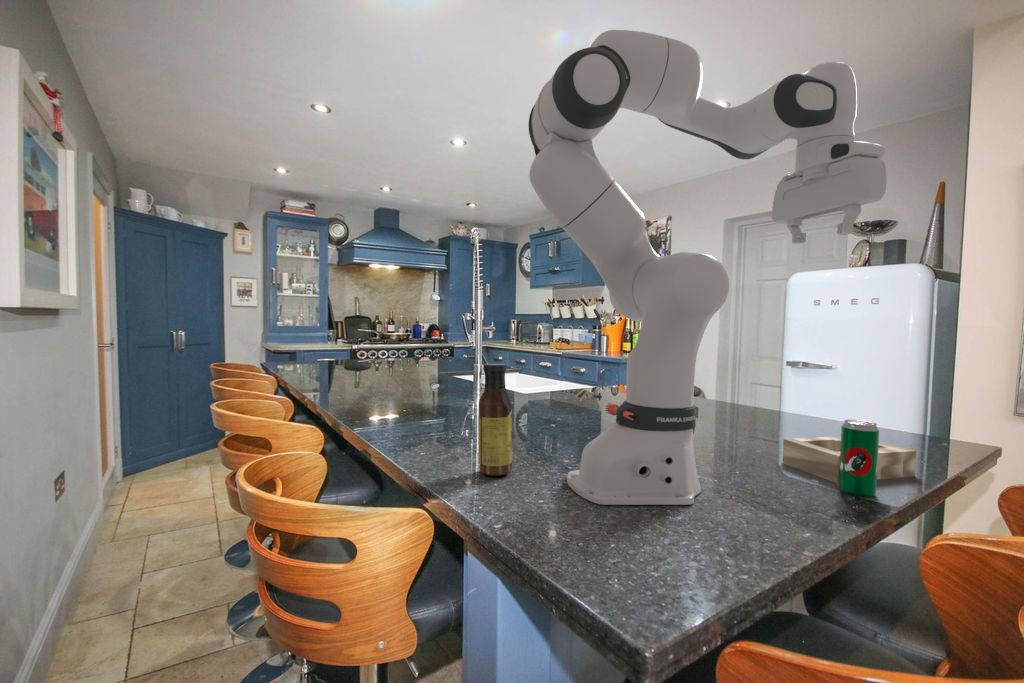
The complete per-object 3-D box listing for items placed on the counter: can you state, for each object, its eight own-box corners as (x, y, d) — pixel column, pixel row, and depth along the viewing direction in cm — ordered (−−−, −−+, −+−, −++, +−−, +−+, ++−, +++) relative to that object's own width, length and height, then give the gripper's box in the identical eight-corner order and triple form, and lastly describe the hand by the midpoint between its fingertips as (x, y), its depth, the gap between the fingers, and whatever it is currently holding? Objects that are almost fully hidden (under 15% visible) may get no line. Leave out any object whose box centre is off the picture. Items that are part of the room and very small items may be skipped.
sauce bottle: (518, 473, 85) (520, 365, 84) (489, 479, 81) (491, 366, 81) (499, 464, 90) (501, 362, 90) (471, 469, 87) (472, 363, 86)
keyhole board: (836, 483, 82) (838, 455, 82) (782, 463, 94) (783, 439, 94) (914, 477, 87) (916, 450, 86) (853, 458, 98) (854, 435, 98)
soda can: (884, 499, 75) (887, 425, 75) (852, 498, 75) (855, 425, 75) (861, 488, 80) (864, 419, 80) (831, 487, 80) (834, 418, 80)
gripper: (765, 177, 93) (762, 246, 94) (864, 138, 73) (860, 226, 74) (791, 180, 95) (788, 248, 95) (895, 142, 75) (891, 229, 76)
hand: (820, 238), depth 85 cm, fingers open, 8 cm apart
